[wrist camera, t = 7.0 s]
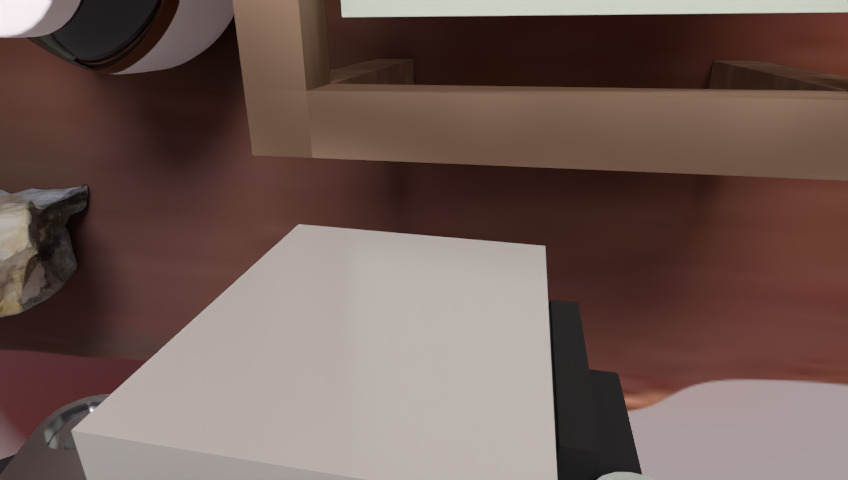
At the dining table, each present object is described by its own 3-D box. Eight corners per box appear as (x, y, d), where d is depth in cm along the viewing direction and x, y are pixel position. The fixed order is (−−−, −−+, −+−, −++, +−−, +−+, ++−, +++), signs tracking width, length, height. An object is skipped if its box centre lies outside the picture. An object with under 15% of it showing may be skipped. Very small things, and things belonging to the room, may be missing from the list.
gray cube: (298, 224, 11) (71, 429, 6) (545, 246, 10) (559, 512, 5) (314, 414, 13) (158, 703, 8) (522, 445, 12) (513, 793, 7)
